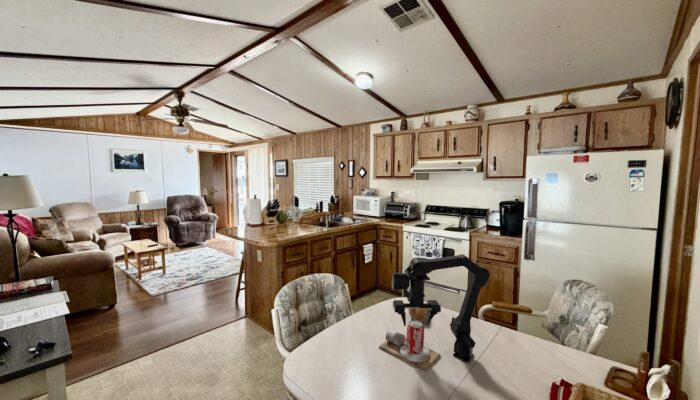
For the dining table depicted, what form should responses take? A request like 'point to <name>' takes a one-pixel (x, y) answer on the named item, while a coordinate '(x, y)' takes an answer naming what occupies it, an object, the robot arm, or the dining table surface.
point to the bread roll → (418, 313)
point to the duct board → (399, 349)
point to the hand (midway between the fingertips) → (415, 325)
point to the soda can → (415, 337)
